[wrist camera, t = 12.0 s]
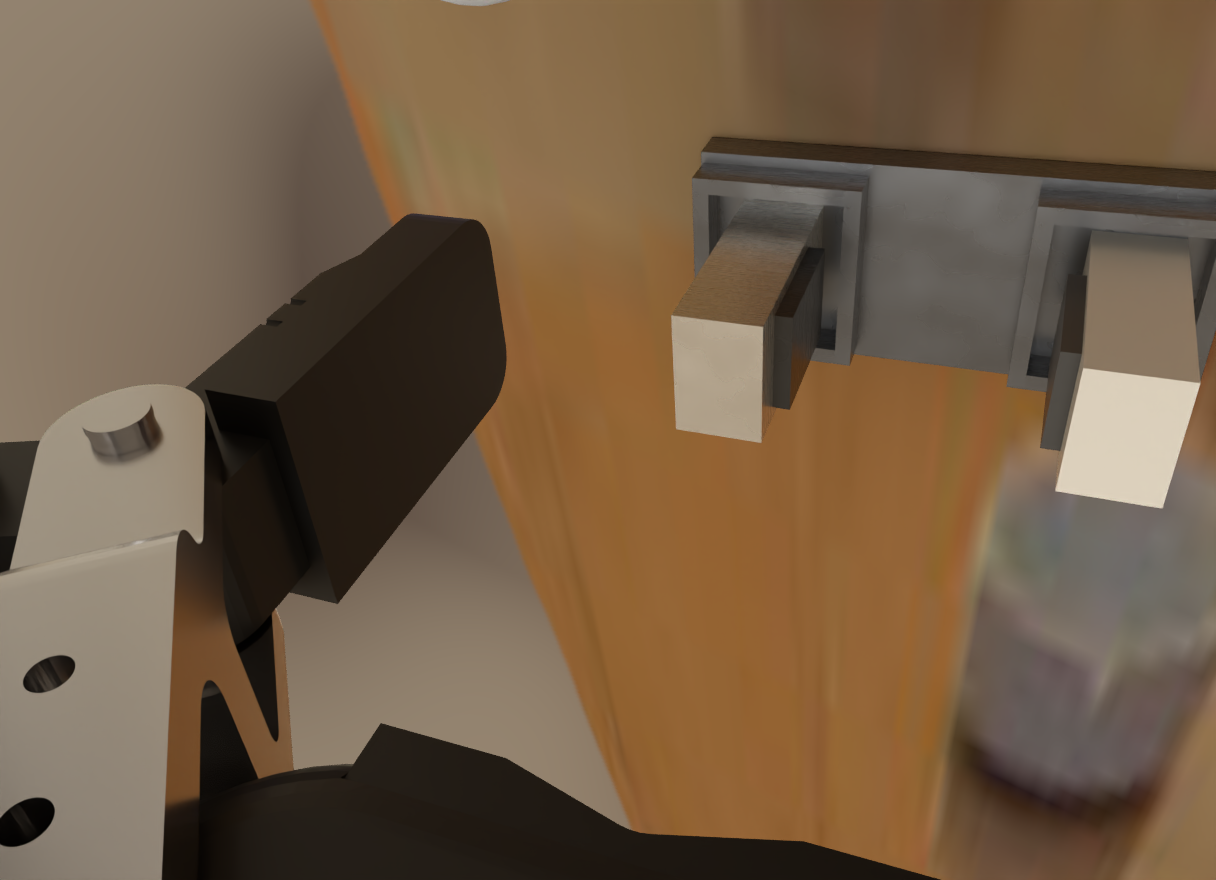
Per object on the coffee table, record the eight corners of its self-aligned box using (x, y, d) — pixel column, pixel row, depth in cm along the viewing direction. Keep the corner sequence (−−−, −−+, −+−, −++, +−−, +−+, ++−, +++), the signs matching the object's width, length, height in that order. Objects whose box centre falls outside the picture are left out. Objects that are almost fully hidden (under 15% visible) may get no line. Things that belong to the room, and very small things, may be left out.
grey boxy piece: (715, 317, 47) (632, 461, 39) (712, 137, 42) (617, 260, 34) (1188, 376, 41) (1201, 559, 33) (1247, 174, 36) (1278, 333, 28)
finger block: (1050, 339, 40) (1035, 487, 34) (1073, 228, 38) (1060, 365, 31) (1157, 353, 39) (1162, 508, 33) (1188, 239, 37) (1200, 383, 30)
